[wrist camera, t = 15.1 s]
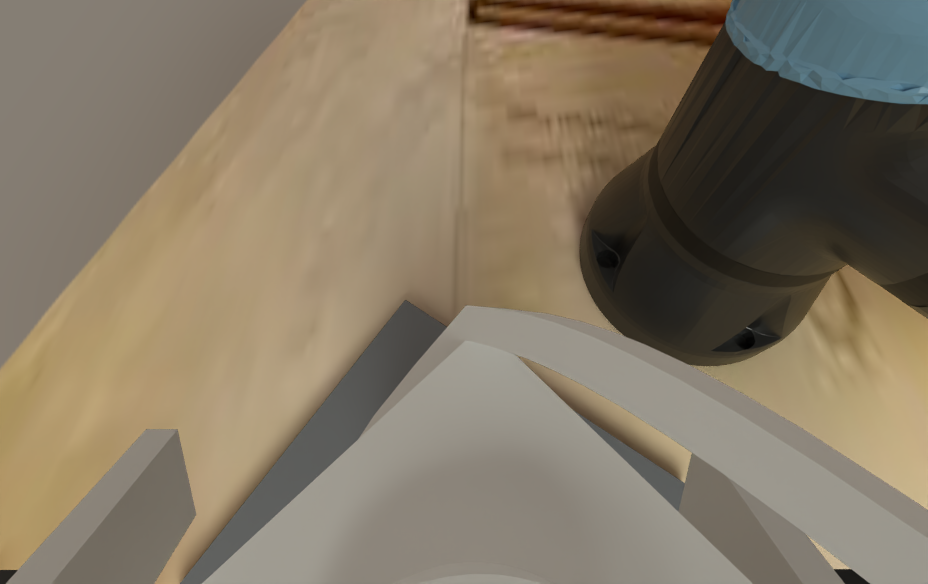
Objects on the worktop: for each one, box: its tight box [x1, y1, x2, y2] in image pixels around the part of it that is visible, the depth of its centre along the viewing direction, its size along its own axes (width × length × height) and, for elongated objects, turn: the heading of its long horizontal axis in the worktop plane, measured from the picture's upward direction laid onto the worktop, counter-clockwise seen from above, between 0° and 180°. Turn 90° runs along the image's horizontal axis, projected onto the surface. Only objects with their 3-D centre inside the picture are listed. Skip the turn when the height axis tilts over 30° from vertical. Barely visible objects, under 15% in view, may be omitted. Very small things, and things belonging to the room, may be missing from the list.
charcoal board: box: [180, 300, 685, 584], centre depth 28 cm, size 20×20×2 cm
